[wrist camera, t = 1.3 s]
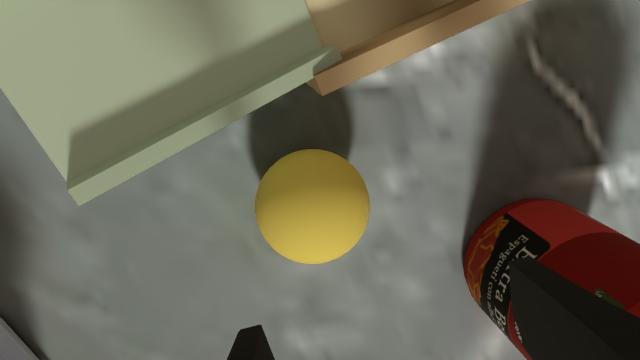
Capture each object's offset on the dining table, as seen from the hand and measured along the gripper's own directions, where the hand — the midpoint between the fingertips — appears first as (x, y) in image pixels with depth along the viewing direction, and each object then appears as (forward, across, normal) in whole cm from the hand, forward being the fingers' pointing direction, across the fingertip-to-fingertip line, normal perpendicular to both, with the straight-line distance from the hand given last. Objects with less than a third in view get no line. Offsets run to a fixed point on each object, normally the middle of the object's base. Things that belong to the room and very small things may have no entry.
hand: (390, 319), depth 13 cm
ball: (+8, +2, 0) cm, 8 cm away
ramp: (+10, +5, -8) cm, 14 cm away
